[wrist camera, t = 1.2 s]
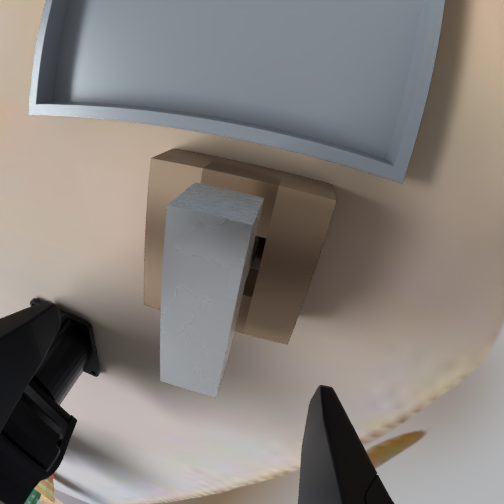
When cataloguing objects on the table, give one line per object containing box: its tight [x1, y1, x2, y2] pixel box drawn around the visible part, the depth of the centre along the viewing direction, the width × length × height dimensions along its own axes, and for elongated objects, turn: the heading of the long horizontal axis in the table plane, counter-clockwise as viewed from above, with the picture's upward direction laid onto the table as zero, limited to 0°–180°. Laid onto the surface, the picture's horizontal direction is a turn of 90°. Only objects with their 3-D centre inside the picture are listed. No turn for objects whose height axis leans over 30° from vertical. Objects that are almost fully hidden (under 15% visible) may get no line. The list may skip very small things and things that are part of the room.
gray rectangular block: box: [160, 182, 264, 398], centre depth 14 cm, size 8×2×7 cm, turn 169°
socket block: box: [144, 149, 337, 344], centre depth 16 cm, size 8×8×2 cm
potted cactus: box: [24, 474, 55, 504], centre depth 48 cm, size 15×15×25 cm
